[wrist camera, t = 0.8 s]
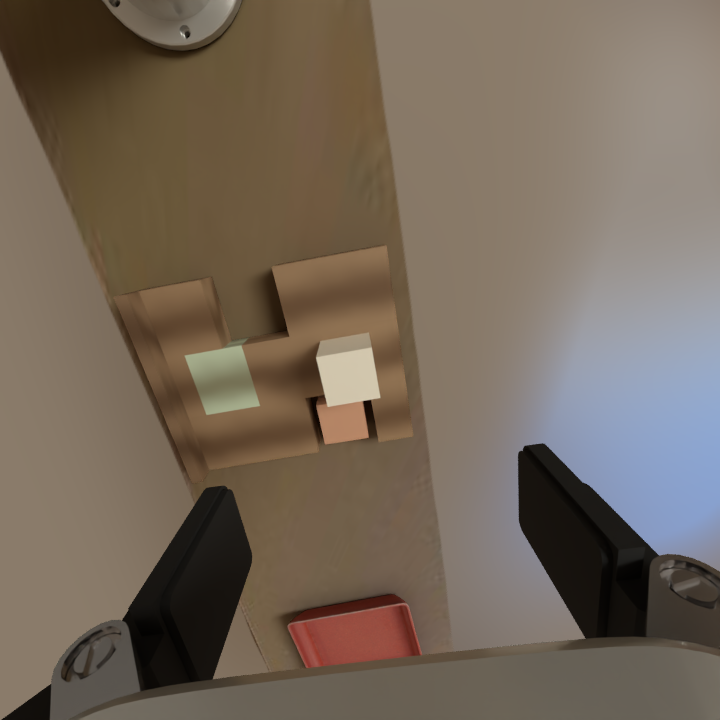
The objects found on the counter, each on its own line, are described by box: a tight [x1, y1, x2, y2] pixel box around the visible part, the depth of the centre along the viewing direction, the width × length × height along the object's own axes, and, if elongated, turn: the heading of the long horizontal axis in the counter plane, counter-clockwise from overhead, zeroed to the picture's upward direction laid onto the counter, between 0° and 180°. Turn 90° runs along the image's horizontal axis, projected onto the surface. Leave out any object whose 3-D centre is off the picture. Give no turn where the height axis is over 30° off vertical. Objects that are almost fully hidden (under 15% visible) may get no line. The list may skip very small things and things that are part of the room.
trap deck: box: [114, 245, 413, 483], centre depth 36 cm, size 21×25×5 cm
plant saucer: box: [287, 594, 422, 668], centre depth 54 cm, size 18×18×3 cm
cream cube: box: [316, 333, 380, 407], centre depth 33 cm, size 5×5×5 cm
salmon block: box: [316, 395, 369, 444], centre depth 40 cm, size 5×5×4 cm
